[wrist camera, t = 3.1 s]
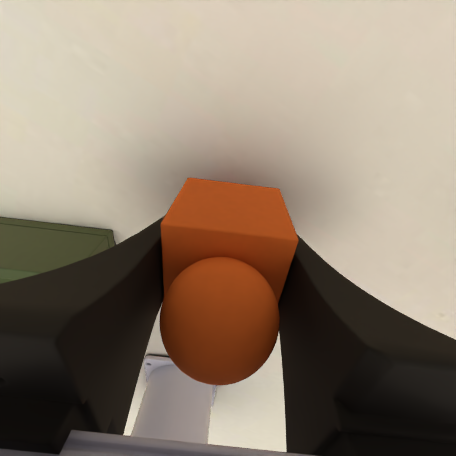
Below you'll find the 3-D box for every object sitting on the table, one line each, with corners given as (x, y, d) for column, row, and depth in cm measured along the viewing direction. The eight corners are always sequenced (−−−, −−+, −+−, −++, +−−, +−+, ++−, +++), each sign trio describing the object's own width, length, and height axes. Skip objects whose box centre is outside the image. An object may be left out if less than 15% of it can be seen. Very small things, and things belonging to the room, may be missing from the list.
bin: (131, 336, 23) (107, 389, 19) (-27, 318, 23) (-84, 368, 19) (112, 230, 17) (70, 276, 13) (-108, 203, 17) (-223, 242, 12)
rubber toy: (262, 260, 13) (282, 423, 7) (186, 251, 13) (133, 408, 7) (279, 188, 11) (334, 330, 5) (187, 176, 11) (110, 305, 5)
